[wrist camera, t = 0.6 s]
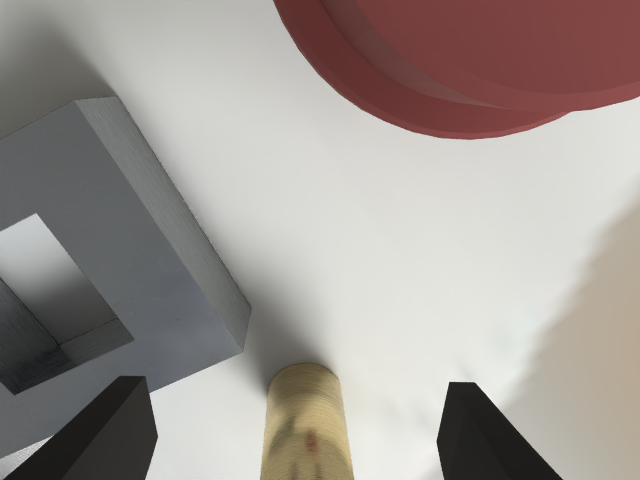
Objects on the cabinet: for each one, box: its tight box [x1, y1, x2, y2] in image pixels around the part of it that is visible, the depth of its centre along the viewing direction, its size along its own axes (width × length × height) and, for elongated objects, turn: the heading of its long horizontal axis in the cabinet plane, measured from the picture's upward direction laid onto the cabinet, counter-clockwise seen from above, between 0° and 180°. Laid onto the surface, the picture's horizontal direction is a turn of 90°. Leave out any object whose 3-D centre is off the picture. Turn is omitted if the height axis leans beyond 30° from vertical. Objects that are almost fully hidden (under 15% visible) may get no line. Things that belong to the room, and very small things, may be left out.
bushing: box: [260, 363, 354, 480], centre depth 19 cm, size 4×4×7 cm
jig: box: [0, 96, 251, 458], centre depth 17 cm, size 13×11×4 cm
